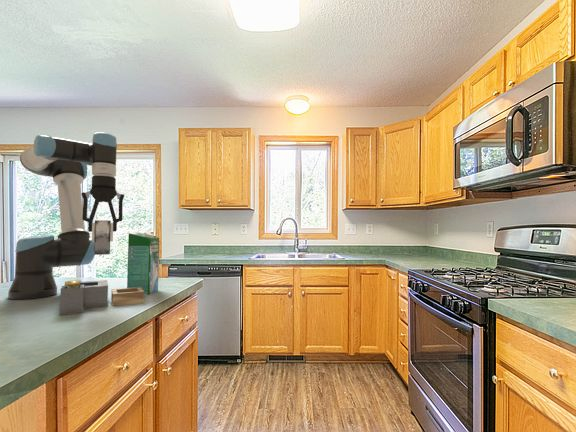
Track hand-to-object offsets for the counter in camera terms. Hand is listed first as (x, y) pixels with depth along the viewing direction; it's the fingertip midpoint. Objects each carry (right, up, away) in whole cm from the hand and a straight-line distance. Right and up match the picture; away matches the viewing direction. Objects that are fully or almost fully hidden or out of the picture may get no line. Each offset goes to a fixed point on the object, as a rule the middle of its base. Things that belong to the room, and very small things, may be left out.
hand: (102, 240), depth 115 cm
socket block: (-3, -22, -4) cm, 23 cm away
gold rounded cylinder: (-3, -19, -12) cm, 23 cm away
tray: (+7, -22, +3) cm, 24 cm away
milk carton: (+6, -23, +20) cm, 31 cm away
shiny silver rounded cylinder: (0, -5, 0) cm, 5 cm away
